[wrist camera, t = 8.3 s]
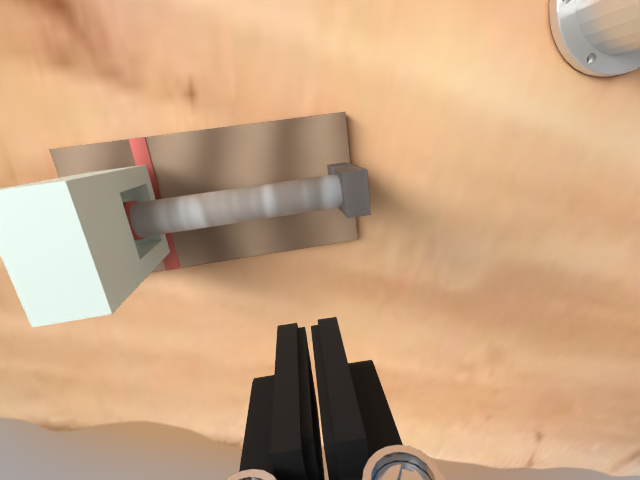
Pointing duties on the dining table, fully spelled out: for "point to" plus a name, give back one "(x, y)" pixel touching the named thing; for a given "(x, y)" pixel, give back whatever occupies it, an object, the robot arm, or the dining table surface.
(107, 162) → the rod stand
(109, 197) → the sleeve block
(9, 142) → the dining table surface
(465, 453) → the dining table surface
